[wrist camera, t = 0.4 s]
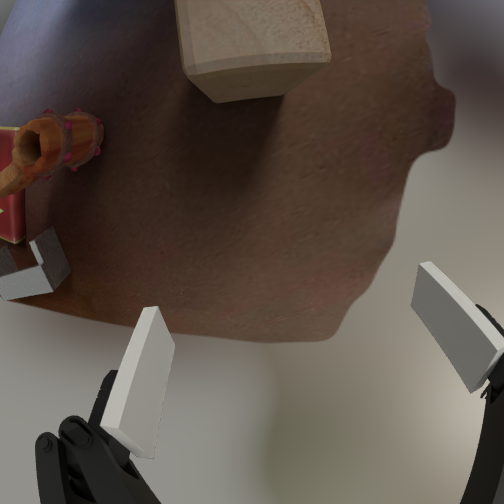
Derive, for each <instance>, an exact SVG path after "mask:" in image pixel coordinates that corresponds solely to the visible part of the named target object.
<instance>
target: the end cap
mask: <svg viewBox="0 0 504 504" xmlns="http://www.w3.org/2000/svg"><path fill="white" fill-rule="evenodd" d="M29 243H30V246H31V248H32V250H33V253H34V255H35V257H36V260H37V262H38V264H37V265H33V266H30V267H26V268H23V269H20V270H18V269H17V267H16V264H15V262H14V260H13V258H12V255H11V253H10V251H9V248H8V246H7V245H6V246H4V247H3V248H1V249H0V295H1V297H2V298H3V300H10V299H15V298H21V297H27V296H32V295H38V294H44V293H49V292H54V291H55V289H56V288H57V287H58V286H59V285H60V284H61V282H62V281H63V280H64V279H65V278H66V277H67V276H68V275H69V274H70V272H71V271H72V270H71V268H70V266H69V263H68V261H67V259H66V257H65V254H64V252H63V250H62V247H61V245H60V242H59V240H58V237H57V235H56V232H55V229H54V227H50V228H48V229H46V230H45V231H44V232H42V233H41V234H40V235H38V236H37V237H36V238H34V239H33V240H32V241H30V242H29Z"/></svg>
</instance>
